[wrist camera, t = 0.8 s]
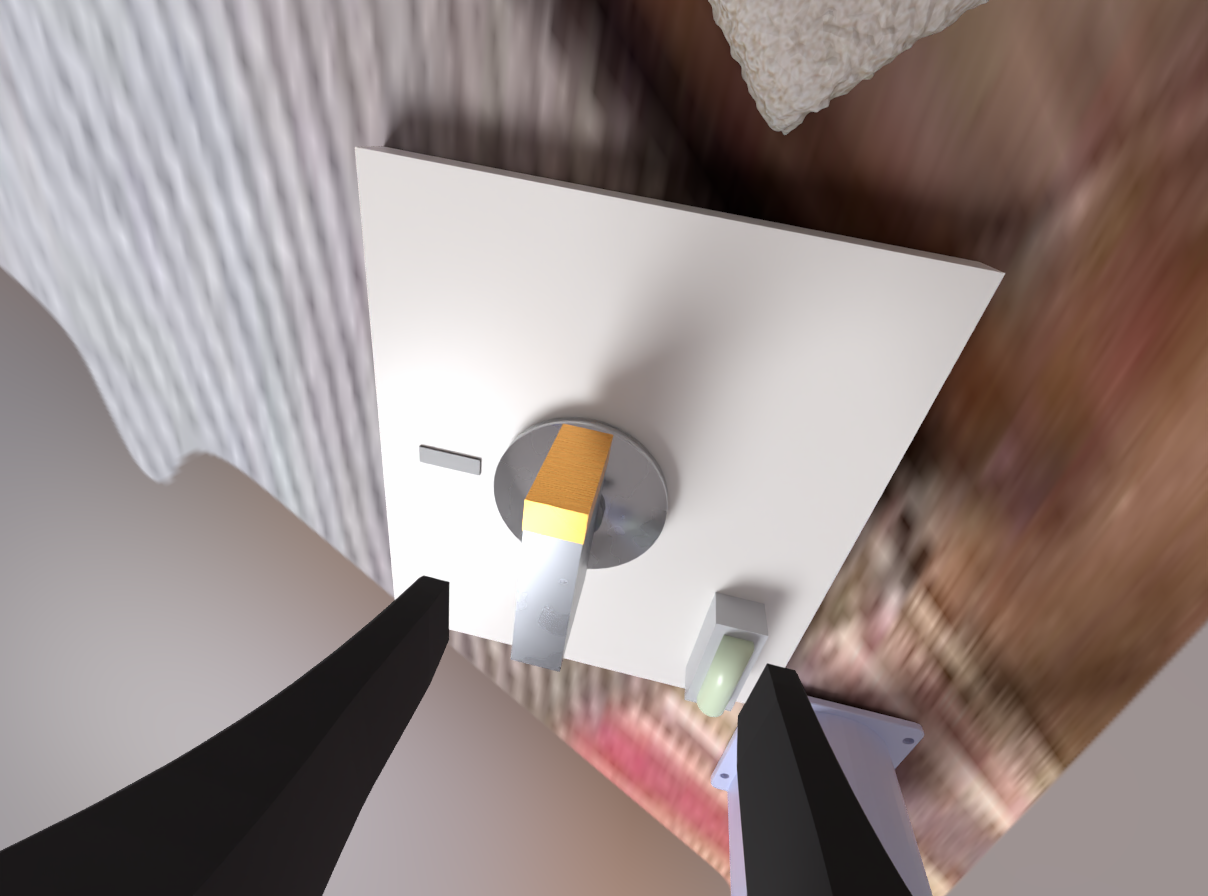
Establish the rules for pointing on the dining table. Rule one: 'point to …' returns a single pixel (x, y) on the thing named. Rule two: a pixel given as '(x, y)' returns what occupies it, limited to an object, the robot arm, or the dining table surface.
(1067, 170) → the dining table surface
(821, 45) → the washcloth
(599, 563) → the rotary knob
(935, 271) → the base plate
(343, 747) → the robot arm
